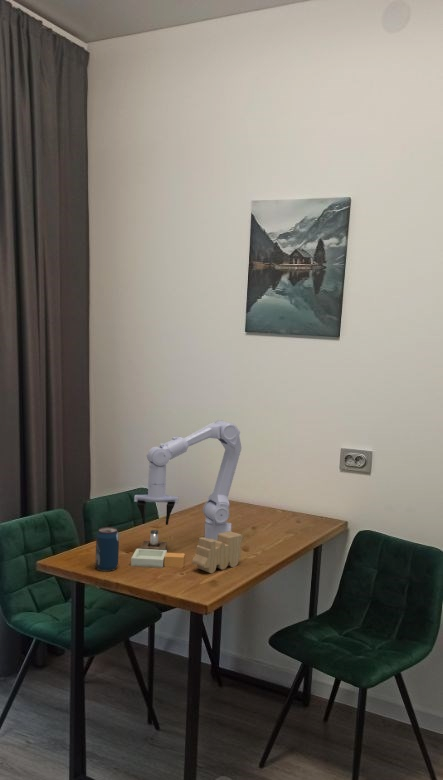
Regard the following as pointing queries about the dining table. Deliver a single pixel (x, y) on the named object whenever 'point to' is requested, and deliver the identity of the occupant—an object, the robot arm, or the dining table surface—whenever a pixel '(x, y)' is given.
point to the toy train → (218, 552)
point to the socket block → (160, 547)
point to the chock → (174, 560)
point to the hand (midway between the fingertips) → (155, 523)
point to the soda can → (107, 549)
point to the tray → (148, 558)
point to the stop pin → (154, 538)
